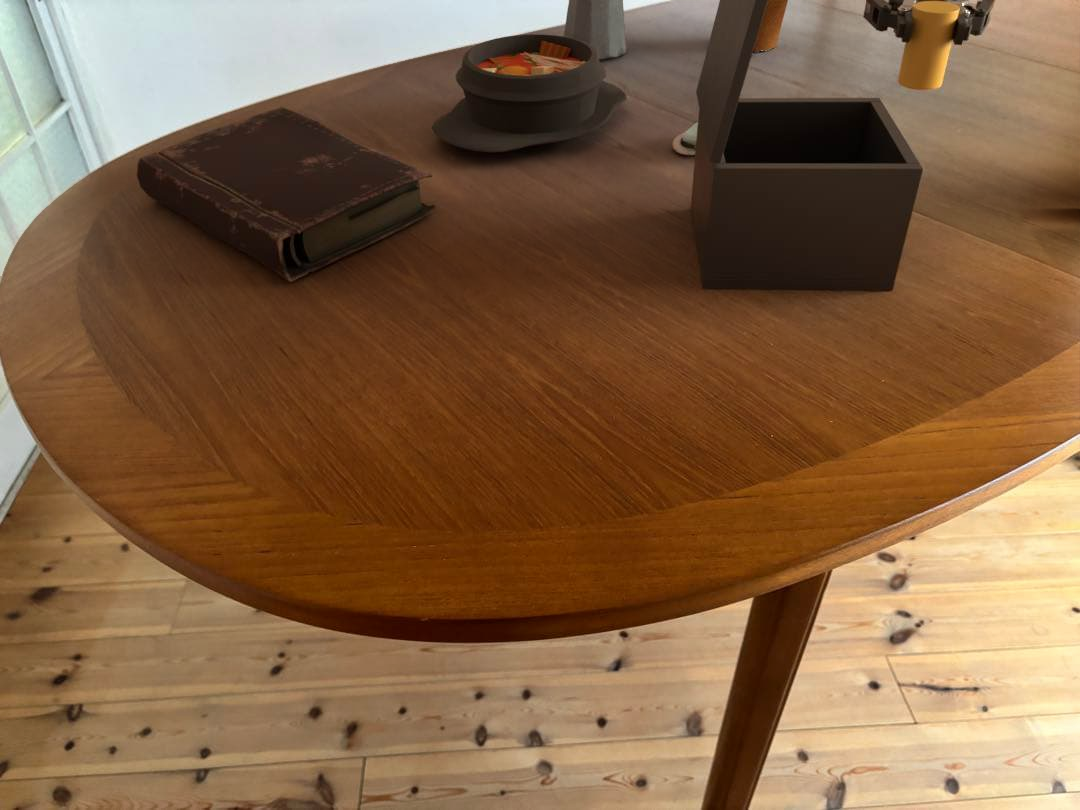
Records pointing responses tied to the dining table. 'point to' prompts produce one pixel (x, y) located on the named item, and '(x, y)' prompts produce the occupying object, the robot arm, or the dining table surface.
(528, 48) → the casserole
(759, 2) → the lid
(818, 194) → the dark open-top crate
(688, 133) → the pacifier
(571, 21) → the moka pot
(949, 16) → the yellow wooden peg
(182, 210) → the diary
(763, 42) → the disposable coffee cup
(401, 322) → the dining table surface
